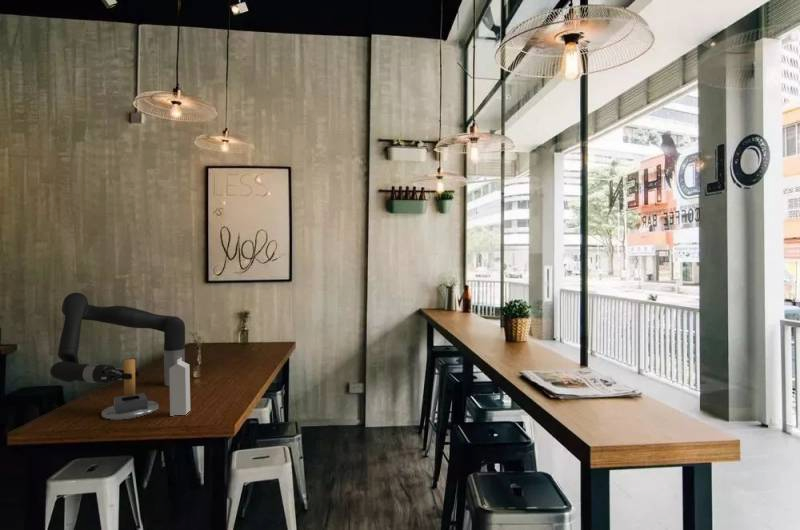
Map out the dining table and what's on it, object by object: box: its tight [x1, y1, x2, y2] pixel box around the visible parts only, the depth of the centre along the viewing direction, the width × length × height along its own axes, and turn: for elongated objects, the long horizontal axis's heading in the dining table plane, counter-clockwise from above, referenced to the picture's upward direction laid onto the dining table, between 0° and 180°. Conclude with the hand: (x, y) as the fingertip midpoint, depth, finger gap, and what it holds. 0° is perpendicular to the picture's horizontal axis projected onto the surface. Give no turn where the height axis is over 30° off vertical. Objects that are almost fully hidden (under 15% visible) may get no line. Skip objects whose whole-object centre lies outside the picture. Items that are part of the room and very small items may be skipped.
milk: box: [169, 357, 191, 417], centre depth 188 cm, size 6×6×22 cm
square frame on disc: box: [101, 392, 159, 421], centre depth 192 cm, size 20×20×6 cm
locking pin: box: [123, 358, 136, 396], centre depth 192 cm, size 4×4×14 cm
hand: (135, 375), depth 191 cm, fingers closed on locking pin, 4 cm apart
